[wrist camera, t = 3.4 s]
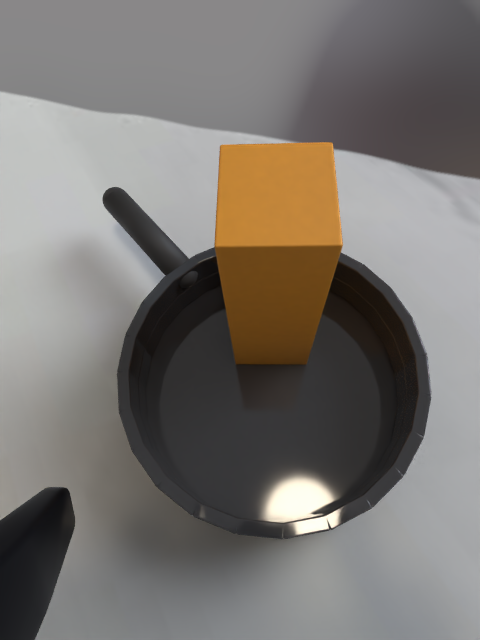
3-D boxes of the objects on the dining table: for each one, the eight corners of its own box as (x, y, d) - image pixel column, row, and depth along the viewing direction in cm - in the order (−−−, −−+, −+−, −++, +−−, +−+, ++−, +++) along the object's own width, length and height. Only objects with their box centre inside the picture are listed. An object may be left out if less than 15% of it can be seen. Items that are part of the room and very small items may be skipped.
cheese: (306, 364, 23) (343, 245, 13) (235, 364, 23) (214, 246, 13) (303, 295, 25) (333, 141, 15) (237, 295, 25) (219, 144, 15)
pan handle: (205, 282, 24) (201, 267, 22) (182, 298, 23) (177, 284, 22) (123, 195, 27) (116, 177, 25) (102, 208, 26) (93, 190, 25)
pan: (255, 607, 19) (254, 628, 16) (89, 371, 24) (61, 348, 21) (462, 399, 22) (498, 379, 19) (278, 233, 28) (281, 193, 24)
